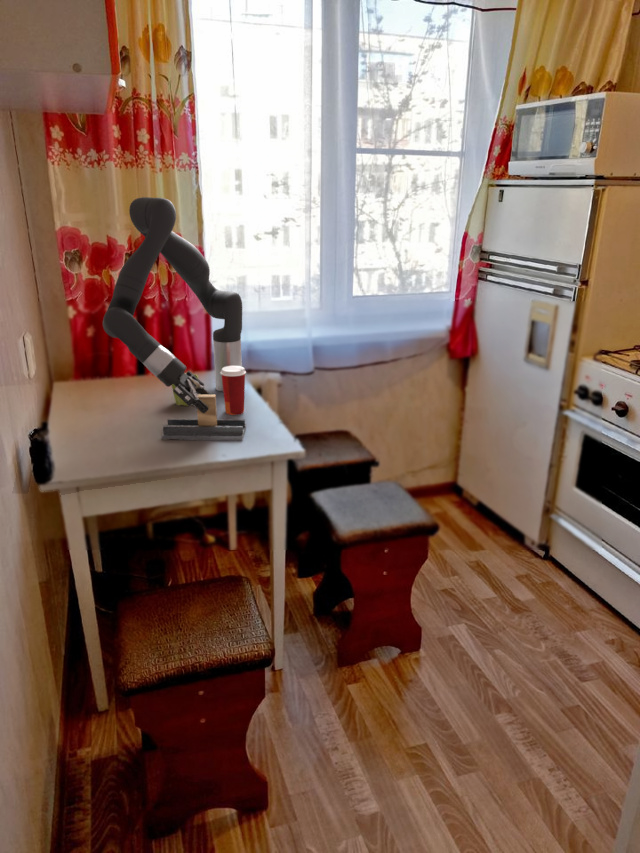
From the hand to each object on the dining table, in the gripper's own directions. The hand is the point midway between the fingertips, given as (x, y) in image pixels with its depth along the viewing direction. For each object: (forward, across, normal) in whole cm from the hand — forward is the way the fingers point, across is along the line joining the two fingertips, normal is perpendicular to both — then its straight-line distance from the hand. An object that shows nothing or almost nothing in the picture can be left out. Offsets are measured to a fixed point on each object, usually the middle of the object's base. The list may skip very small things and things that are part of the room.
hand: (209, 405), depth 170 cm
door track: (+5, 0, +7) cm, 8 cm away
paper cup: (+9, +18, +3) cm, 20 cm away
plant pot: (-3, +26, +15) cm, 30 cm away
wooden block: (+4, 0, +6) cm, 7 cm away
